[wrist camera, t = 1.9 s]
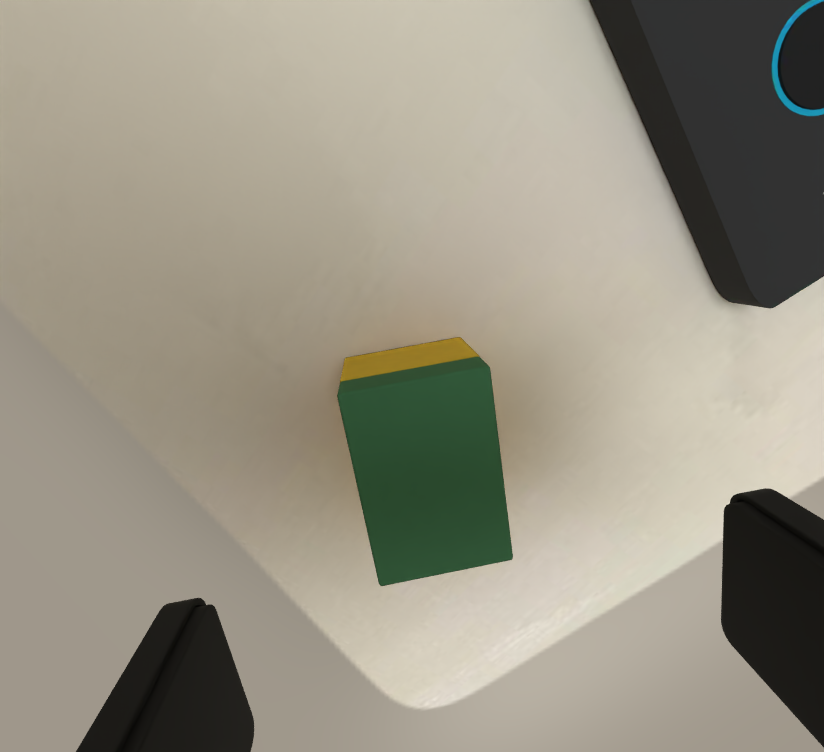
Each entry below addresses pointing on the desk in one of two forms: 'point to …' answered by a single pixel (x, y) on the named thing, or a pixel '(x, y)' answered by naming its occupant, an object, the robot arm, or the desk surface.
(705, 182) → the smart home device
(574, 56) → the desk surface
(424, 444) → the sponge
